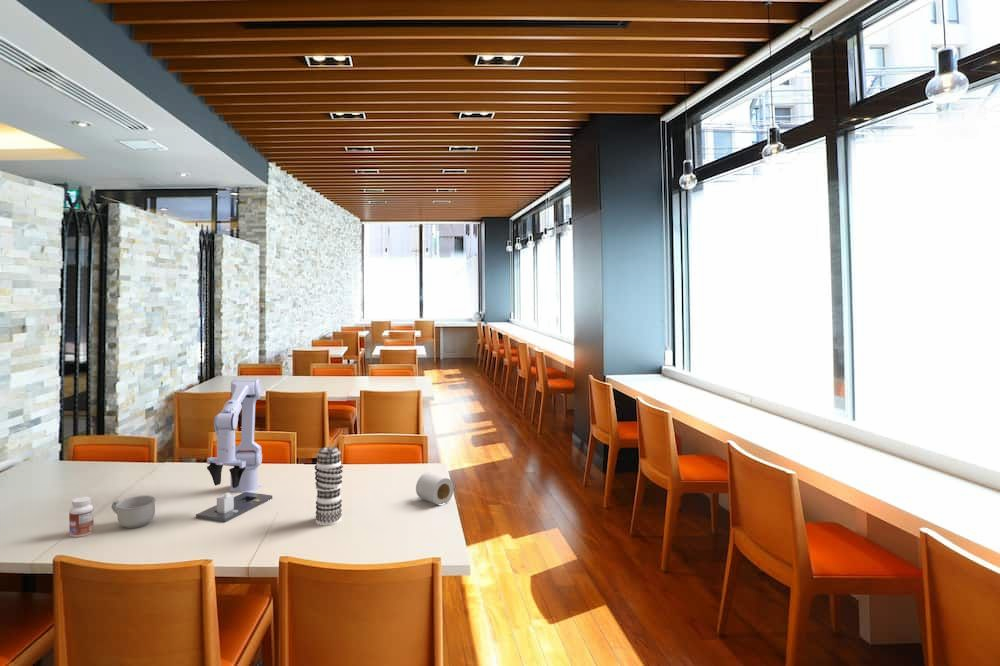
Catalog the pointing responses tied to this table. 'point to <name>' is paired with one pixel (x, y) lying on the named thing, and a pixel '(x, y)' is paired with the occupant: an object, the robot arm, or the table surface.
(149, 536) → the table surface
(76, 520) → the pill bottle
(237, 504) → the panel
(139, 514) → the teacup
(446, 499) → the toilet paper
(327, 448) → the grey patterned cylinder
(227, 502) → the plug
